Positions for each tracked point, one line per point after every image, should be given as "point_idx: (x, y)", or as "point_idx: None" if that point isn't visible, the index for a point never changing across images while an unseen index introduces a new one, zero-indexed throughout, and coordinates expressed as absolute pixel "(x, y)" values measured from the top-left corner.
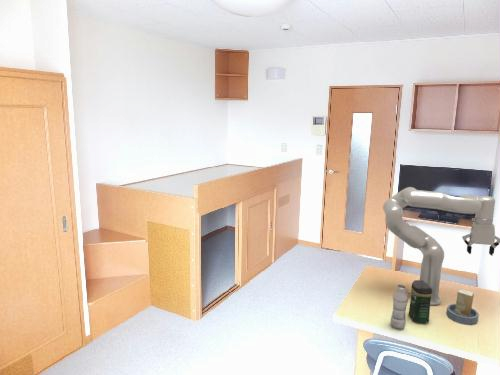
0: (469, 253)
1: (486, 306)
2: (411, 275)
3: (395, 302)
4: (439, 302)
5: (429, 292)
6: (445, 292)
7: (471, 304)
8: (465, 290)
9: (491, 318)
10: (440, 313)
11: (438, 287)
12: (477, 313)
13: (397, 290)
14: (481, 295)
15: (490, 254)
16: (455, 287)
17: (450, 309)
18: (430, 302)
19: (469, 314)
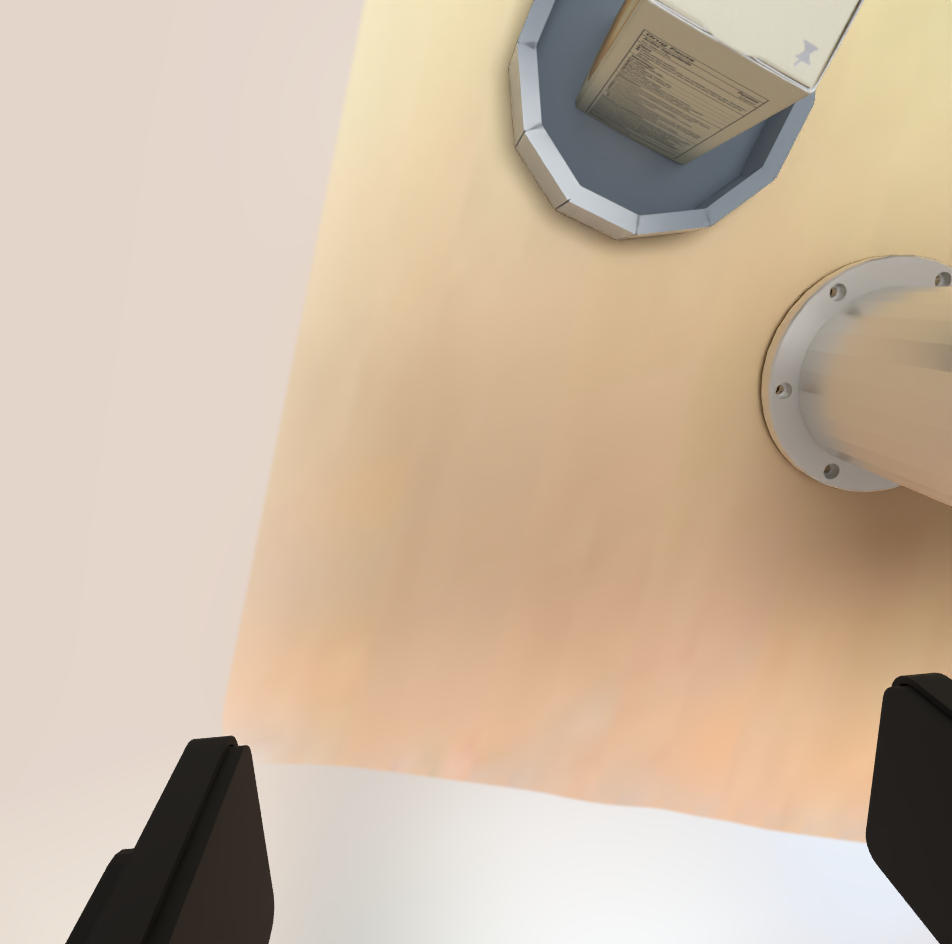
0: (943, 678)
1: (358, 417)
2: None
3: None
4: (799, 310)
5: None
6: (663, 585)
7: (629, 2)
8: (753, 48)
9: (366, 168)
10: (827, 115)
11: (918, 344)
12: (528, 51)
13: None
14: (354, 630)
15: (252, 791)
16: (549, 714)
17: (737, 178)
18: (889, 278)
19: (607, 34)
